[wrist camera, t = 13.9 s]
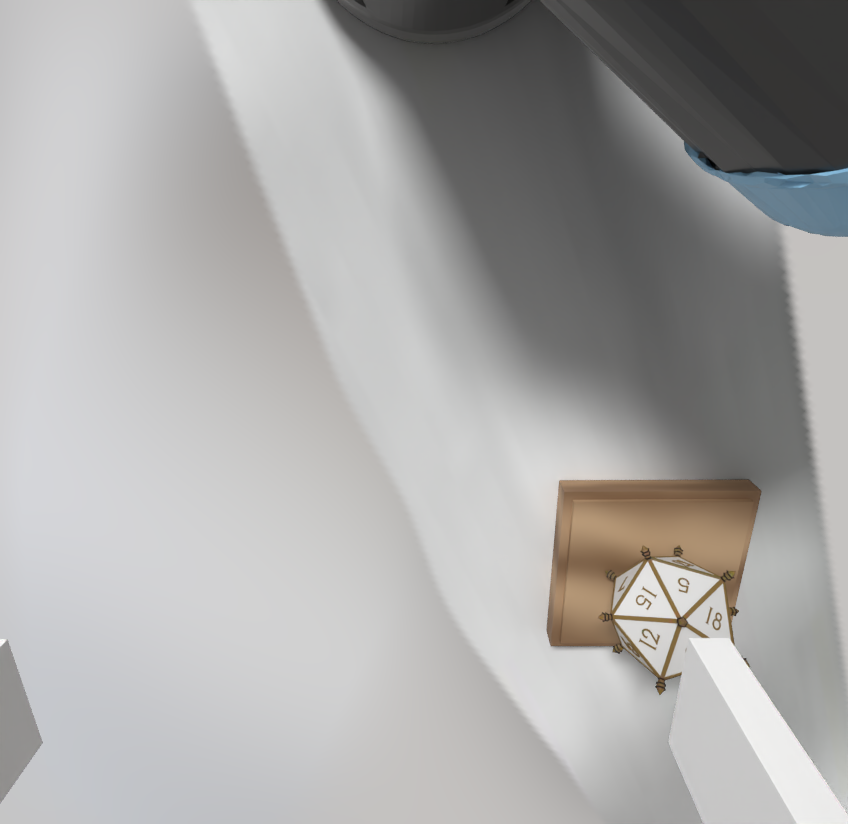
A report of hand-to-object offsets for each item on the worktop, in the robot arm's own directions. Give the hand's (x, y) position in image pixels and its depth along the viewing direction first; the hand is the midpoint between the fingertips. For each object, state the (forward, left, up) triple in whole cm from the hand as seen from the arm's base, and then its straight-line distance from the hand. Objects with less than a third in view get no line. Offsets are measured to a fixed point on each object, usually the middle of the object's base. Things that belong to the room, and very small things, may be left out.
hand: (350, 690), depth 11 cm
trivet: (+16, +17, -27) cm, 35 cm away
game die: (+16, +17, -25) cm, 34 cm away
